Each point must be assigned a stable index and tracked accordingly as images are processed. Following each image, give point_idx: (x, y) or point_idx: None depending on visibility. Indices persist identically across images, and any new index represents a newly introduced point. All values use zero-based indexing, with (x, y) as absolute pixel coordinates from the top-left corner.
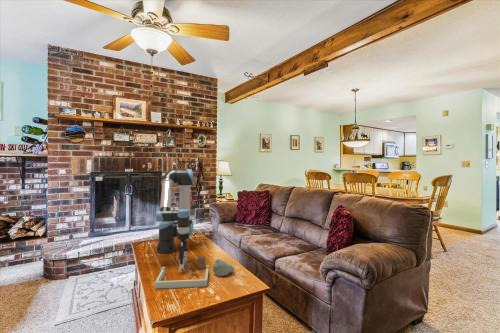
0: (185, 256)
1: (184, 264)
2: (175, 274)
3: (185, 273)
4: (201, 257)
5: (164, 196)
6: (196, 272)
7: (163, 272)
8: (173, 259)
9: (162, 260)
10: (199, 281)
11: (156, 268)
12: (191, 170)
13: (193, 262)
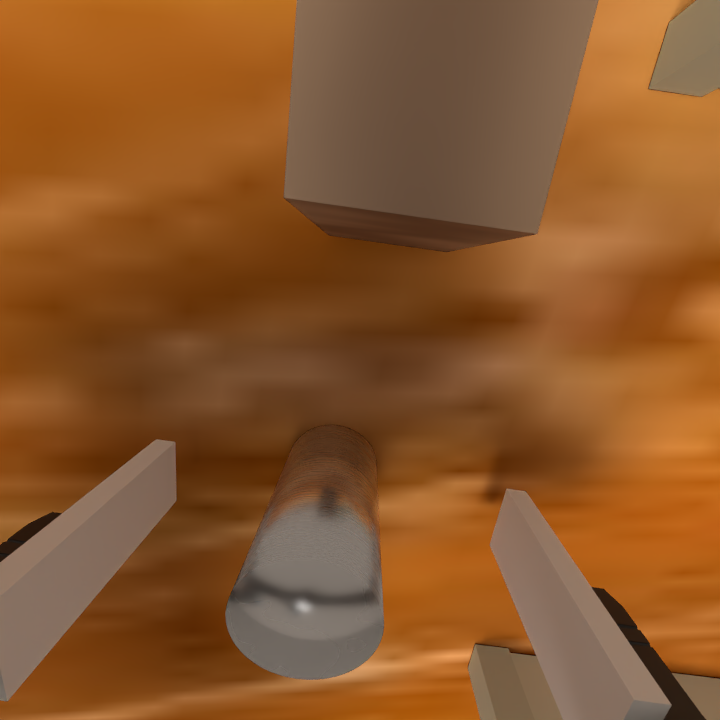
0: (278, 578)
1: (373, 485)
2: None
3: (551, 436)
4: (488, 60)
5: None
6: (581, 275)
7: (557, 710)
8: None
9: (72, 680)
10: None
11: (301, 716)
12: None
13: (156, 312)
